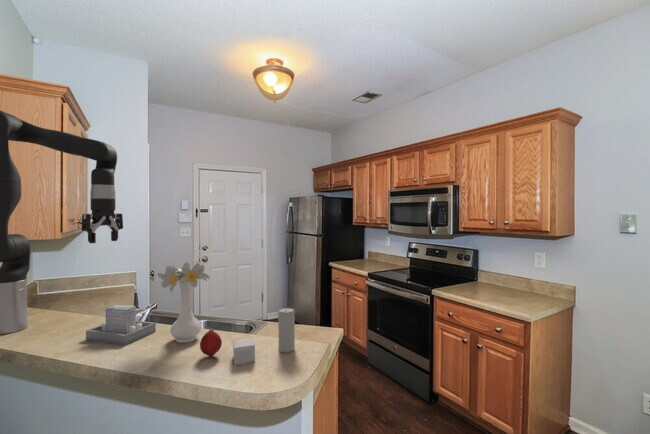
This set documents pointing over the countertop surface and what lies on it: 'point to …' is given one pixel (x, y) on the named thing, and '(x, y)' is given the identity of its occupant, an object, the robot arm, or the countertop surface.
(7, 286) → the robot arm
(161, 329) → the countertop surface
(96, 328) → the tray
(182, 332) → the flower vase
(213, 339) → the onion
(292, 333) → the beverage can
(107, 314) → the medicine box
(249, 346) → the small box
